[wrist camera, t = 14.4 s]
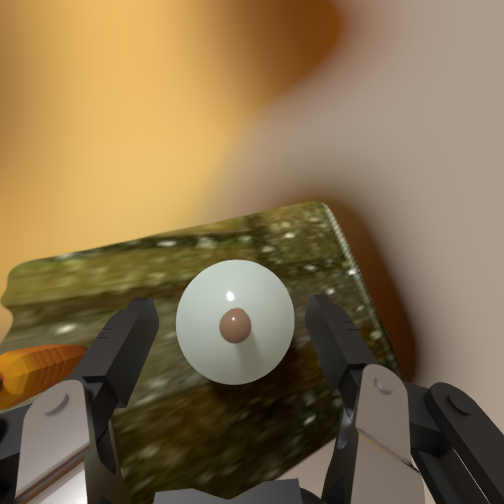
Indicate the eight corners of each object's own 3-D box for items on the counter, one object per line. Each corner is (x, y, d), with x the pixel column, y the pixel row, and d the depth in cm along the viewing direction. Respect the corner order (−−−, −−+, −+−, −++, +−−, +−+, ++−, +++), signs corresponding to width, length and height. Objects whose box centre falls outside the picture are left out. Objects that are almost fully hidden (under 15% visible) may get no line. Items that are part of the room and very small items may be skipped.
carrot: (86, 327, 29) (-69, 353, 14) (114, 344, 28) (-15, 387, 14) (62, 360, 27) (-134, 426, 13) (91, 378, 27) (-77, 464, 13)
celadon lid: (197, 401, 21) (163, 482, 12) (166, 282, 24) (120, 268, 15) (309, 352, 23) (358, 387, 14) (268, 248, 27) (285, 217, 17)
